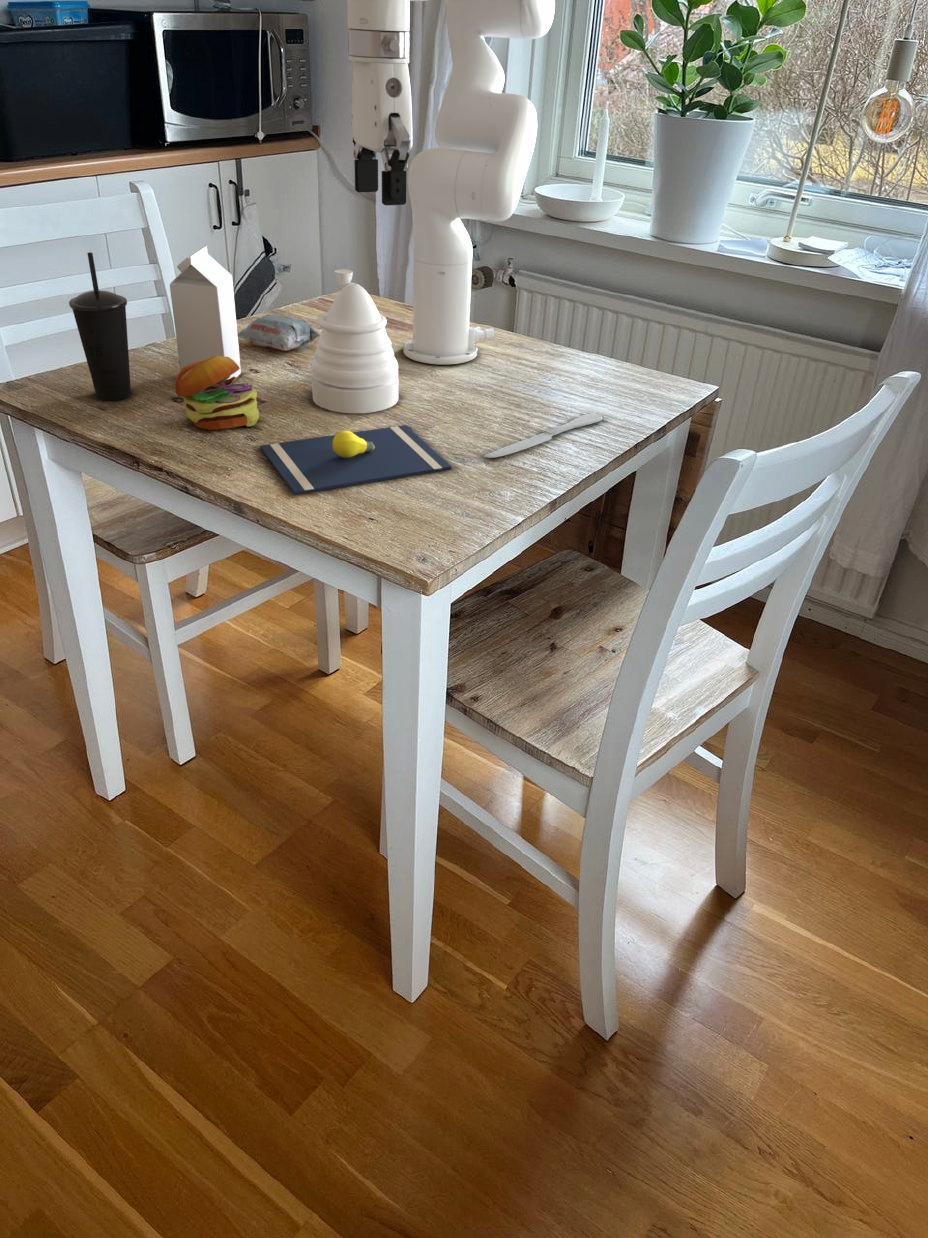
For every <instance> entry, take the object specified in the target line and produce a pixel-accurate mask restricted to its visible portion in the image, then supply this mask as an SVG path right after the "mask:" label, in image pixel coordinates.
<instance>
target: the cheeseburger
mask: <svg viewBox="0 0 928 1238" xmlns="http://www.w3.org/2000/svg"><path fill="white" fill-rule="evenodd" d="M239 369H240V368H239V366H238V365H237V364H236V363H235V362H234V361H233V360H232V359H231V358H229V357H224V356H213V357H211V358H209V359H207V360H203V361H199V362H195V363H192V364H189V365H187V366H185V367H183V368H182V369H181V370H179V372H178V373H177V374H176V375H177V376H176V379H175V382H174V390H175V395H176V396H177V397H178V398H183V404H184V405H185V409H184V410H185V413H184V414H185V415H186V416H187V418H188V419H189V420H190V421H191V422H192V424H193V425H195V426H196V427H197V428H199V429H202V430H210V431H213V430H215V431H216V430H225V429H231V428H232V429H233V428H234V429H235V428H238V427H244V426H246V427H253V426H255V425H256V424H257V423H258V421H259V418H260V411H259V408H258V400H257V397H258V393H257V390H256V389H255V388H254V387H253V386H252V384H249V383H236V382H237V381H238V380H239V378H240V375H238V377H236V378H235V377H232V378H230V379H228V378H229V377H230V376H231V375H232V374H234V373H235V372H237V371H238V370H239ZM226 379H228V380H226Z"/></svg>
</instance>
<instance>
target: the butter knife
mask: <svg viewBox="0 0 928 1238" xmlns="http://www.w3.org/2000/svg"><path fill="white" fill-rule="evenodd" d="M602 420H603V417H602V415H601V414H599V413H595V412H587V413H585V414H583V415H580V416H578V417H575V418H574V419H573V420H570V421H568V422H566V423H564V424H561V425H559V426H556V427H553V428H551V429H547V430H545V431H544V432H542V433H539V434H536V435H534V436H532V437H531V436H530V437H528V438H525V439H522V440H520V441H517V442H514V443H512V444H508V445H507V446H504V447H501V448H499V449H496V450H494V451H491V452H489V453H486V454H485V455H483V457H484V458H489V459H492V458H498V457H503V456H507V455H511V454H515V453H517V452H521V451H524V450H527V449H529V448H533V447H535V446H537V445H541V444H543V443H545V442H548V441H551V440H552V437H553V436H556V435H558V434H561V433H564V432H567V431H570V430H573V429H577V428H581V427H584V426H588V425H592V424H595V423H598V422H600V421H602Z"/></svg>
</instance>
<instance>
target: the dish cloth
mask: <svg viewBox="0 0 928 1238" xmlns="http://www.w3.org/2000/svg"><path fill="white" fill-rule="evenodd" d="M352 433H353V434H355V435H356V436H358V437H359V438H362V439H364V440H365V441H370V442H372V443H373V444H374V446H375V449H374V450H373V451H372V452H364V453H362V454H357V455H355V456H353V457H350V458H342V457H340V456H339V455H337V454H336V453H335V452H334V450H333V446H332V444H333V439H334V437H335V436H336V434H333V435H327V436H319V437H312V438H306V439H299V440H292V441H285V442H277V443H270V444H264V445H259V449H260V450H261V452H262V453H263V454H264V456H265V457H266V458H267V460H268V462H270V463H271V465H272V466H273V468H274V469H275V471H276V472H277V473H278V474H279V476H280V477H281V479H282V480H283V481H284V483H285V484H286V485H287V487H288V488H289V490H291V492H292V493H293V495H294V496H295V495H302V494H306V493H313V492H319V491H325V490H331V489H338V488H345V487H350V486H355V485H362V484H368V483H374V482H380V481H386V480H391V479H392V480H393V479H398V478H404V477H405V478H406V477H411V476H417V475H423V474H429V473H434V472H441V471H448V470H452V465H450V463H449V462H448V461H446V460H445V459H444V458H443V457H442V456H441V455H440V454H439V453H437V451H435V449H433V448H432V447H431V446H429V444H427V443H426V442H425V441H424V440H423V439H422V438H421V437H420V436H419V435H418V434H417V433H415V432H414V431H413V430H412V429H411V428H410V427H408V426H407V424H404V425H396V426H389V427H381V428H375V429H369V430H361V431H353V432H352Z"/></svg>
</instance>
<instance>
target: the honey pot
mask: <svg viewBox="0 0 928 1238" xmlns="http://www.w3.org/2000/svg"><path fill="white" fill-rule="evenodd" d="M353 275H354V271H353V270H351V269H347V268H346V269H345V268H342V269H341V268H340V269H339V268H338V269H335V270H334V278H335V280H336V281H337V283H338V284H339V285H341V286H343V287H342V288H341V289H340V290H339V292H338V293H337V294H336V296H335V297H334V299H333V301H332V303H331V304H330V307H329V310H328V311H324V312H323V313H321V314H319V316H317V319H316V322H317V325H318V326H319V327H320V328H321V332H320V336H319V337H318V338H317V340H316V345H317V347H316V348H315V350H314V357H313V359H311V363H310V364H311V365H310V366H311V367H310V368H311V388H312V390H311V391H312V392H311V393H312V401H313V402H314V404H315V405H316V406H319V407H320V408H322V409H324V410H328V411H332V412H336V413H344V414H367V413H368V414H369V413H377V412H380V411H385V410H387V409H389V408H391V407H393V406H395V405H396V404H397V403H398V402H399V363H398V360H397V359H396V357H395V353H394V349H393V347H392V341H391V339H390V338H389V335H388V333H387V330H386V326H387V323H388V321H387V318H386V317H385V316H384V315H383V314H382V313H380V312H379V310H378V308H377V305H376V304H375V302H374V300H373V299H372V296H371V295H370V294H369V293H368V292H367V290H366V289H365V288H364V287H363V286H362V285H360V284H358V283H355V282H352V280H353Z"/></svg>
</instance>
